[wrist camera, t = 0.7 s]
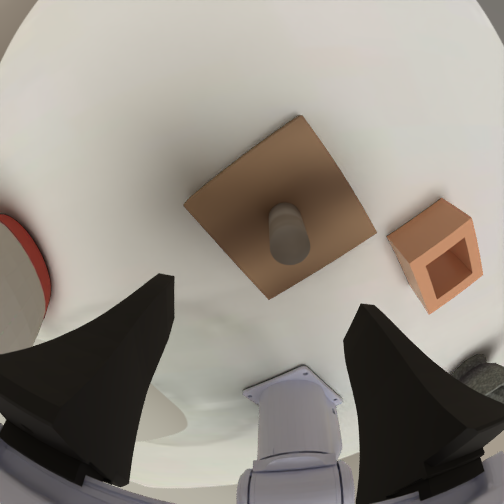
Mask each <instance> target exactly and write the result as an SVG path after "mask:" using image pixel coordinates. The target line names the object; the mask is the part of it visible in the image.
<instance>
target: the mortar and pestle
mask: <svg viewBox="0 0 504 504" xmlns="http://www.w3.org/2000/svg"><path fill="white" fill-rule="evenodd" d="M452 376H453V377H454V378H456V379H457V380H459V381H460V382H462V383H463V384H465V385H467V386H468V387H470V388H472V389H474V390H475V391H477V392H479V393H481V394H483V395H485V396H487V397H489V398H492V399H494V400H496V401H499V402H501V403H503V404H504V367H503V366H501V365H499V364H496V363H487V362H486V359H485V357H484V355H483V354H481V355H475V356H473V357H472V358H470V359H468V360H466V361H465V362H464V363H463V364H462V365H461V366H460V367H459V368H458V369H456V370H455V372H454V374H453V375H452Z"/></svg>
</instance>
